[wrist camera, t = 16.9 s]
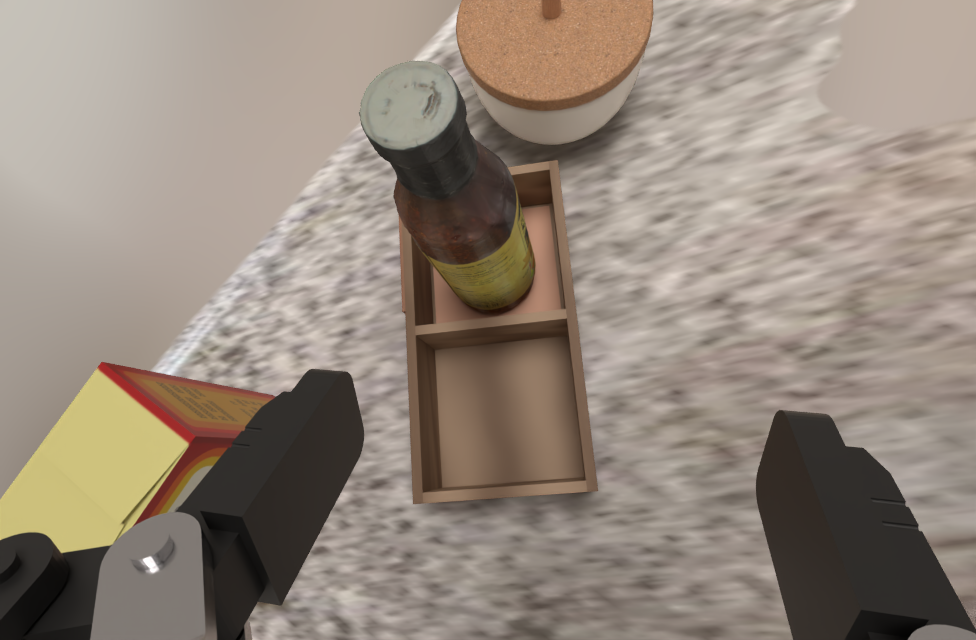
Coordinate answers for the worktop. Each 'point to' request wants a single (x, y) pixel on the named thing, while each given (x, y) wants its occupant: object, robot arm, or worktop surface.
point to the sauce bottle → (450, 186)
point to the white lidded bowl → (553, 62)
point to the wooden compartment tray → (499, 371)
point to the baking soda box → (124, 455)
